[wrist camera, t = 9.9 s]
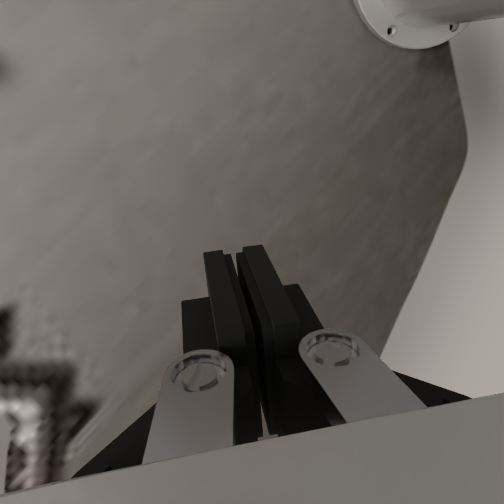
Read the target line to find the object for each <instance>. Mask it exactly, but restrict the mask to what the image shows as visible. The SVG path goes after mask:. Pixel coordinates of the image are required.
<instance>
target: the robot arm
mask: <svg viewBox="0 0 504 504" xmlns="http://www.w3.org/2000/svg"><path fill="white" fill-rule="evenodd" d="M353 1H354V5H355V7H356V9H357V11H358V13H359V15H360V18H361V19H362V21H363V22H364V23H365V25H366V26H367V27H368V29H369V30H370V31H371V32H372V33H373V34H374V35H375V36H377V37H378V38H379V39H380V40H382V41H384V42H386V43H387V44H389V45H391V46H395V47H398V48H402V49H424V48H430V47H433V46H436V45H440V44H442V43H444V42H446V41H448V40H450V39H451V38H453V37H455V36H456V35H457V34H458V33H460V32H461V31H462V30H464V29H465V28H466V27H467V26H468V25H469V23H470V22H472V21H480V20H487V19H494V18H501V17H504V0H353ZM449 25H450V28H449ZM388 28H389V30H390V32H389V34H388V33H387V30H388ZM203 256H204V264H205V271H206V279H207V286H208V294H209V297H205V298H198V299H192V300H185V301H181V306H182V329H183V352H184V354H183V355H181V356H179V357H178V358H176V359H174V360H173V361H172V362H171V363H170V364H169V365H168V366H167V368H166V370H165V372H164V375H163V379H162V383H161V387H160V391H159V395H158V399H157V403H156V404H155V405H153V406H152V407H151V408H150V409H149V410H148V411H147V412H145V413H144V414H143V415H142V416H141V417H140V418H139V419H137V420H136V421H135V422H134V423H133V424H132V425H130V426H129V427H128V428H127V429H126V430H125V431H124V432H122V433H121V434H120V435H119V436H118V437H117V438H116V439H114V440H113V441H112V442H111V443H110V444H109V445H108V446H106V447H105V448H104V449H103V450H102V451H101V452H100V453H98V454H97V455H96V456H95V457H94V458H93V459H92V460H90V461H89V462H88V463H87V464H86V465H85V466H84V467H82V468H81V469H80V470H79V471H78V472H77V473H76V474H75V475H74V476H73V477H72V478H71V479H67V480H62V481H58V482H53V483H48V484H44V485H39V486H35V487H31V488H27V489H22V490H18V491H14V492H10V493H5V494H1V495H0V504H504V393H500V394H494V395H490V396H484V397H479V398H474V399H472V398H469V397H467V396H465V395H462V394H459V393H456V392H453V391H450V390H447V389H444V388H442V387H439V386H436V385H433V384H430V383H427V382H424V381H421V380H418V379H415V378H412V377H410V376H407V375H404V374H400V373H398V372H395V371H392V370H391V369H390V368H388V366H387V365H386V364H385V363H384V362H383V361H382V360H381V359H380V358H379V357H378V356H377V355H376V354H375V353H374V352H373V351H372V350H371V349H370V348H369V347H368V346H367V344H366V343H365V342H364V341H363V340H361V339H360V338H359V337H358V336H356V335H355V334H352V333H350V332H348V331H344V330H339V329H324V328H323V326H322V324H321V323H320V321H319V319H318V317H317V316H316V314H315V312H314V311H313V309H312V307H311V305H310V304H309V302H308V300H307V298H306V297H305V295H304V293H303V291H302V290H301V288H300V286H299V285H298V284H291V285H284V286H283V285H282V283H281V281H280V279H279V277H278V275H277V273H276V271H275V269H274V267H273V265H272V263H271V261H270V259H269V257H268V255H267V253H266V251H265V249H264V247H263V245H255V246H247V247H243V252H241V253H236V261H237V271H238V276H237V273H236V270H235V267H234V264H233V260H232V257H231V254H226V255H224V254H223V251H222V250H218V251H211V252H204V253H203ZM260 402H261V405H262V409H263V413H264V417H265V420H266V424H267V428H268V432H269V435H274V434H278V437H276V438H271V439H266V440H261V441H258V438H259V437H263V429H262V417H261V405H260Z"/></svg>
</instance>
